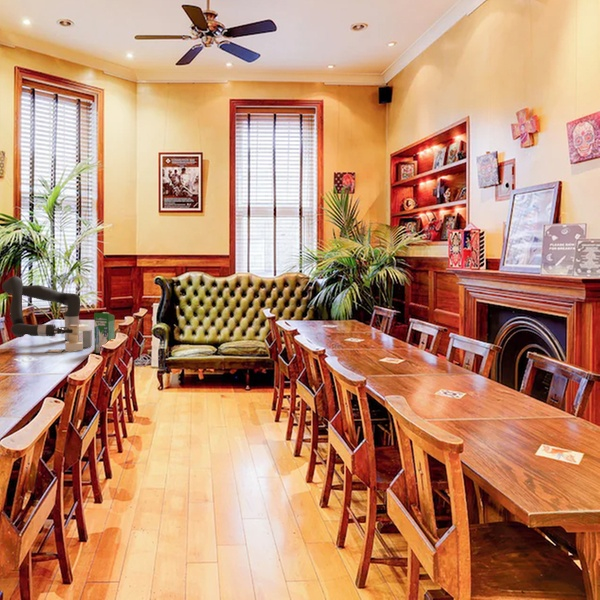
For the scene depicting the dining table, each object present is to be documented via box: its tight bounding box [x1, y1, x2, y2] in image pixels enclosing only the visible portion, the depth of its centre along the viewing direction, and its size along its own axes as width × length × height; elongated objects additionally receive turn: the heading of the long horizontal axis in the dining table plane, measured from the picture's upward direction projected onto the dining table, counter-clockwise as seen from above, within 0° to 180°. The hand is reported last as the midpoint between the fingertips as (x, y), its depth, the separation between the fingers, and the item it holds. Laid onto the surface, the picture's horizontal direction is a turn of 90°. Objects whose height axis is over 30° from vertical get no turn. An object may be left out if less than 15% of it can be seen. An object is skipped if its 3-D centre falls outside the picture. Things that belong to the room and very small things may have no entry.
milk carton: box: [93, 311, 116, 354], centre depth 343 cm, size 9×9×25 cm
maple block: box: [68, 324, 80, 343], centre depth 348 cm, size 5×5×11 cm
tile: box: [44, 348, 65, 354], centre depth 341 cm, size 9×9×1 cm
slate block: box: [82, 329, 93, 348], centre depth 361 cm, size 5×5×11 cm
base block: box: [64, 340, 84, 352], centre depth 349 cm, size 10×10×5 cm
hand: (74, 330), depth 348 cm, fingers open, 8 cm apart
